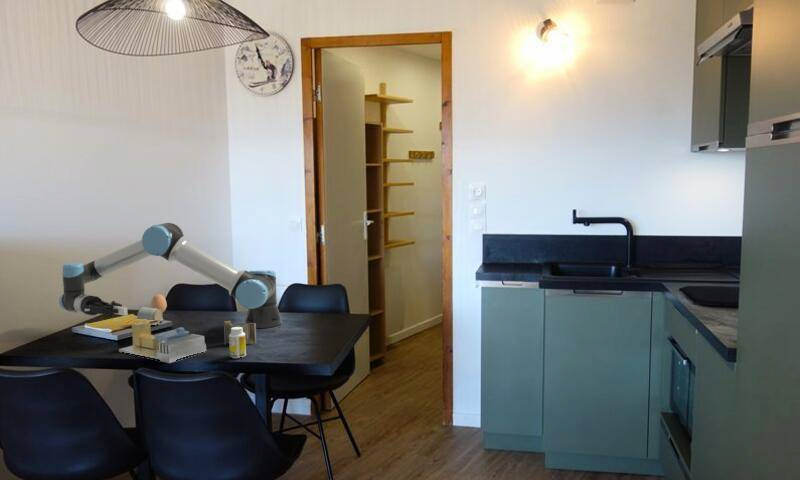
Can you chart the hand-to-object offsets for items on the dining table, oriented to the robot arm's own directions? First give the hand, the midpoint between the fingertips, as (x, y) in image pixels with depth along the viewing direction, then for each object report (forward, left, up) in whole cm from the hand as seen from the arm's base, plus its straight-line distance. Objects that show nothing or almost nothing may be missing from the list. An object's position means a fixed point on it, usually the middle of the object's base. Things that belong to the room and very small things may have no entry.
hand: (125, 311), depth 247 cm
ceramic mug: (-1, -33, -13) cm, 36 cm away
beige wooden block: (-9, +7, -11) cm, 17 cm away
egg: (+1, -55, -13) cm, 57 cm away
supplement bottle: (-44, +24, -13) cm, 51 cm away
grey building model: (-16, +13, -13) cm, 24 cm away
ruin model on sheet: (-42, +6, -13) cm, 45 cm away
